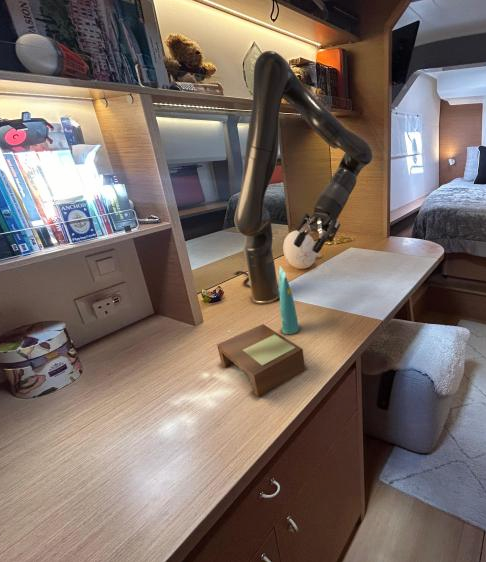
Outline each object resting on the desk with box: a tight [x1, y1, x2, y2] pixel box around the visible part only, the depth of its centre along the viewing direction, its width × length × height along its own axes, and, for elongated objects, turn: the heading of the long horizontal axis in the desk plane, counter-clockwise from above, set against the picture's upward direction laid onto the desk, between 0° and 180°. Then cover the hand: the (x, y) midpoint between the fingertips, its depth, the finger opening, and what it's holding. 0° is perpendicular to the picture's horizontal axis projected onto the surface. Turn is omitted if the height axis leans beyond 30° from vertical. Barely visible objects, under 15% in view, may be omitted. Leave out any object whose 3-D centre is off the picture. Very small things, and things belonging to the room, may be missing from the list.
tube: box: [278, 266, 300, 335], centre depth 97 cm, size 7×5×19 cm, turn 29°
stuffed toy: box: [282, 225, 323, 270], centre depth 147 cm, size 19×14×25 cm
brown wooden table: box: [216, 323, 306, 398], centre depth 84 cm, size 18×13×6 cm
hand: (305, 248), depth 97 cm, fingers open, 8 cm apart
